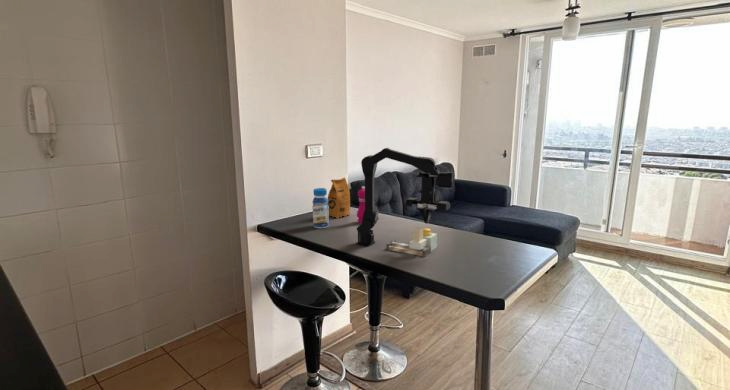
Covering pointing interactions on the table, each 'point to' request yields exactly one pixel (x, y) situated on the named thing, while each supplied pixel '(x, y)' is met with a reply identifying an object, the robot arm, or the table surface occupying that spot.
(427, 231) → the button
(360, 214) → the pepper mill
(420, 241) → the carriage
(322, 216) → the beverage bottle
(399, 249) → the rail
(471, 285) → the table surface
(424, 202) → the robot arm
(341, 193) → the coffee package
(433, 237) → the button housing
